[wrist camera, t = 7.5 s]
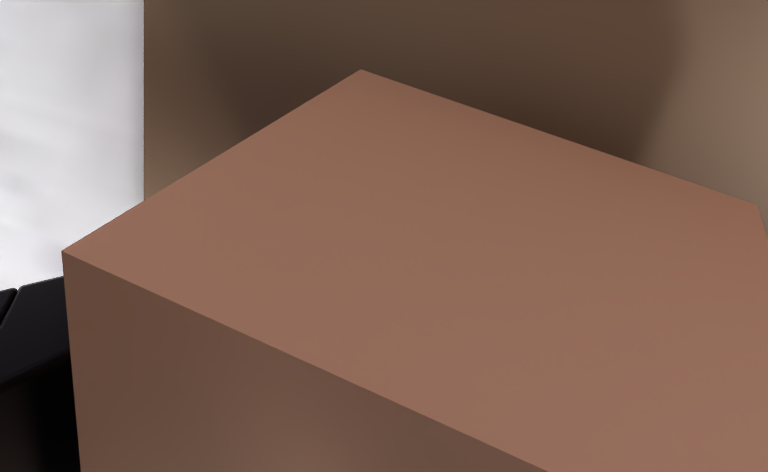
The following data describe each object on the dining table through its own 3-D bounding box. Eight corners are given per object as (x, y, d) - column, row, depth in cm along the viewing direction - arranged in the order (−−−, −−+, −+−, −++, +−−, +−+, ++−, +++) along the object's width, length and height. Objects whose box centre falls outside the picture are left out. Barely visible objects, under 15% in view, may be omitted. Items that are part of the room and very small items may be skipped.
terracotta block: (589, 473, 10) (539, 887, 6) (306, 346, 11) (94, 622, 7) (757, 205, 7) (886, 625, 3) (360, 69, 8) (61, 251, 4)
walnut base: (716, 528, 15) (727, 652, 13) (214, 303, 18) (143, 370, 15) (1295, -135, 8) (1601, -146, 5) (266, -346, 10) (143, -419, 8)
